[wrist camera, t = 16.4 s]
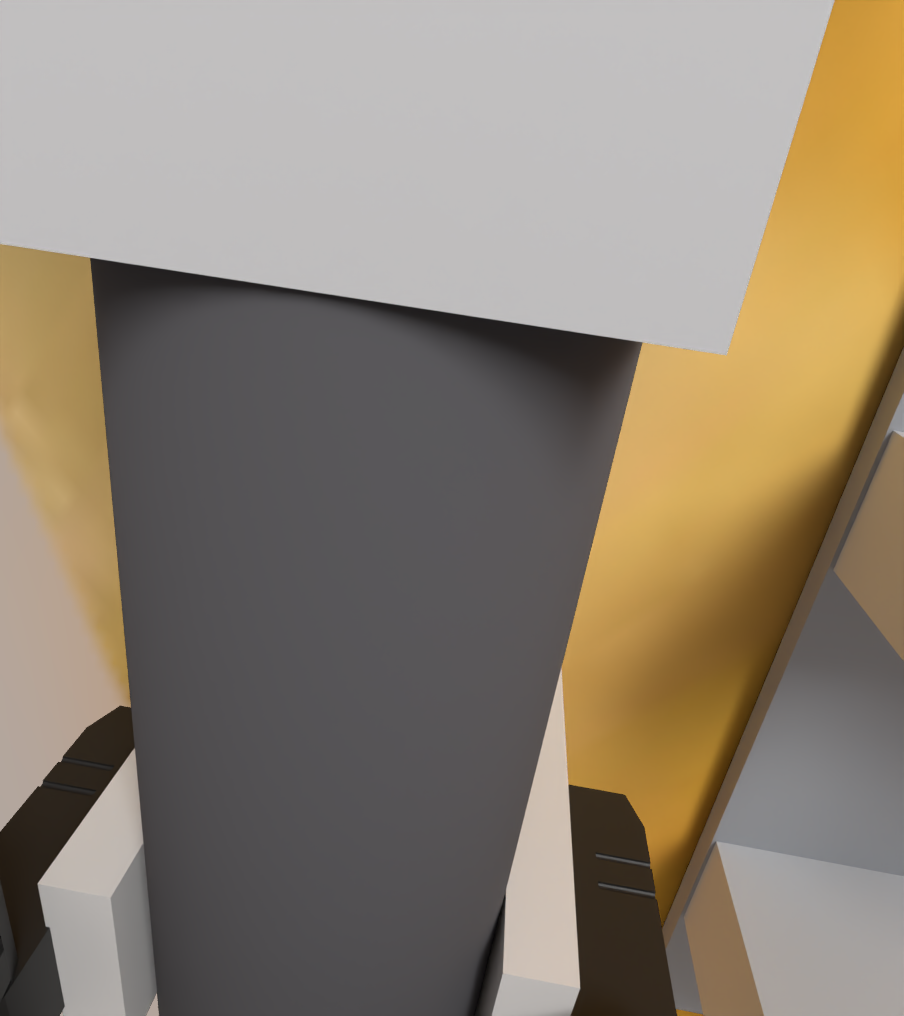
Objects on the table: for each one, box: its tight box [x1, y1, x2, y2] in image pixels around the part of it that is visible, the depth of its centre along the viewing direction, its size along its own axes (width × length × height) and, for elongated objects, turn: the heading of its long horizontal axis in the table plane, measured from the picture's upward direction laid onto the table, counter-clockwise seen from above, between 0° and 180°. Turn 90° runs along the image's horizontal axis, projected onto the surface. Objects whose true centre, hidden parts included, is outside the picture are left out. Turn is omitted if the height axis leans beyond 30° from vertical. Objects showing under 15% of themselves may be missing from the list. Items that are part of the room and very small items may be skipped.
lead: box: [0, 0, 834, 1016], centre depth 8 cm, size 19×4×4 cm, turn 172°
